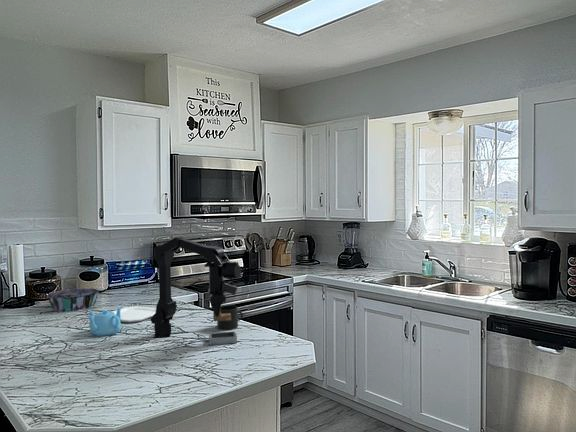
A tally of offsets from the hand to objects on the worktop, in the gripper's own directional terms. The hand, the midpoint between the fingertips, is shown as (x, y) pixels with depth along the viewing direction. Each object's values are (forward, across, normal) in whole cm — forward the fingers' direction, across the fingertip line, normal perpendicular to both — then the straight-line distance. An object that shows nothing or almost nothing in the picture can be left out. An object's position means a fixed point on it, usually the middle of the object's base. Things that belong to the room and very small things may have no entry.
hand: (217, 315), depth 192 cm
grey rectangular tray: (+11, 0, -2) cm, 11 cm away
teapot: (+11, +27, +49) cm, 57 cm away
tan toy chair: (+2, 0, -2) cm, 2 cm away
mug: (+11, +21, -7) cm, 25 cm away
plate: (+11, +54, +40) cm, 68 cm away
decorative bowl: (+11, +85, +75) cm, 114 cm away
